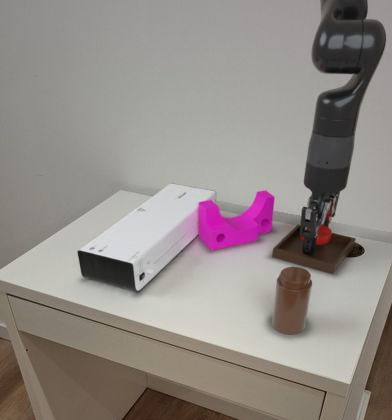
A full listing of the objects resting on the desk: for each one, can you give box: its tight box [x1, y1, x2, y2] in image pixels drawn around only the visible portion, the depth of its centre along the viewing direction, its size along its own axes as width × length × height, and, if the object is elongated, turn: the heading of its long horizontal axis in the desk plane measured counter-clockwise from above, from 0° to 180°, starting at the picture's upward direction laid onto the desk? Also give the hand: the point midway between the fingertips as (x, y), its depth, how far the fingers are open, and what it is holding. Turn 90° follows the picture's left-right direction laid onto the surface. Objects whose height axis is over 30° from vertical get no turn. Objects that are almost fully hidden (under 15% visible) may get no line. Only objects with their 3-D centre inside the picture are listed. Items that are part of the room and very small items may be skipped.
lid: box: [300, 225, 333, 245], centre depth 92 cm, size 6×6×2 cm
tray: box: [271, 223, 357, 275], centre depth 93 cm, size 12×12×2 cm
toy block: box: [198, 189, 276, 251], centre depth 97 cm, size 15×6×8 cm, turn 113°
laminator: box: [76, 182, 217, 293], centre depth 94 cm, size 34×12×6 cm, turn 154°
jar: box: [271, 266, 313, 335], centre depth 73 cm, size 5×5×9 cm
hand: (314, 247), depth 93 cm, fingers closed on lid, 5 cm apart
